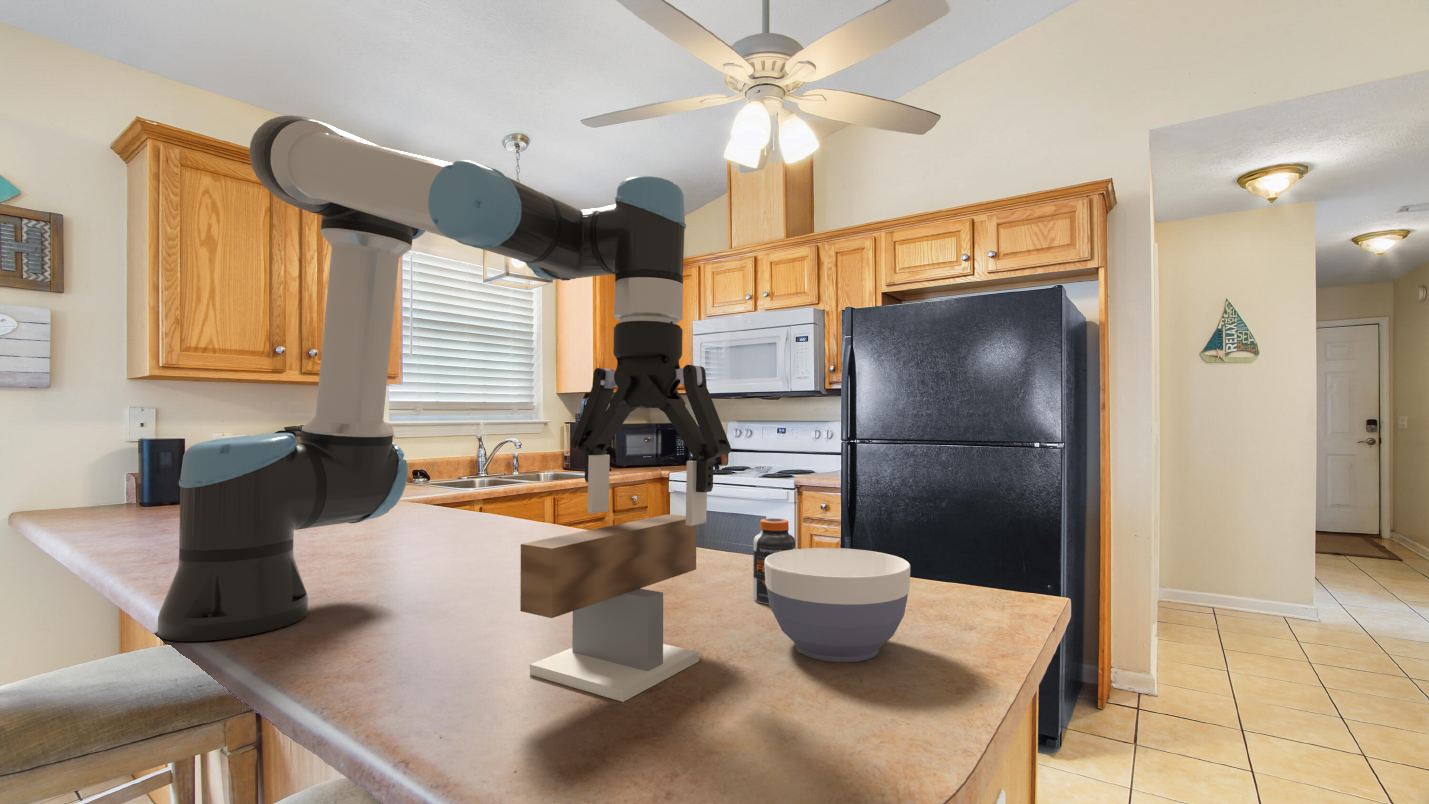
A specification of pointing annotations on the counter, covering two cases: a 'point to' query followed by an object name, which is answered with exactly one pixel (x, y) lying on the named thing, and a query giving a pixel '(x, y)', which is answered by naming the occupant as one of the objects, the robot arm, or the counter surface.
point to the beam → (603, 563)
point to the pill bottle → (768, 552)
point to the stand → (617, 648)
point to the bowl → (837, 600)
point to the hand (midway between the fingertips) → (644, 518)
